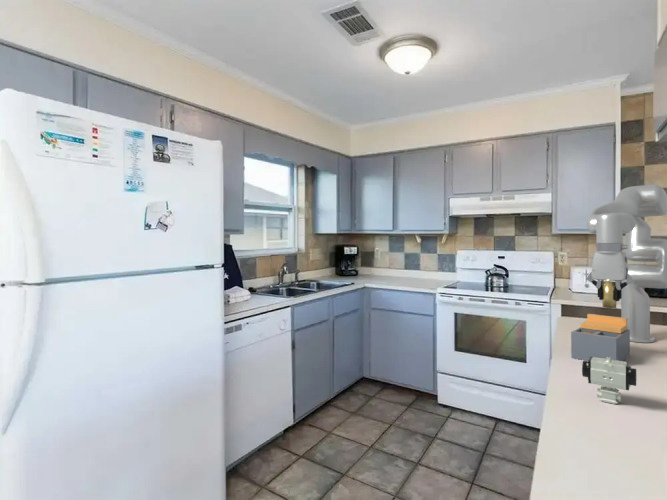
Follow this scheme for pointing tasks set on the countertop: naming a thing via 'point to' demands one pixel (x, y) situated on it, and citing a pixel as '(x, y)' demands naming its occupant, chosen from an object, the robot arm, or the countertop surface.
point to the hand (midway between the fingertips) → (609, 299)
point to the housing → (600, 344)
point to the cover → (605, 323)
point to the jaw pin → (608, 294)
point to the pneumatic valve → (609, 377)
